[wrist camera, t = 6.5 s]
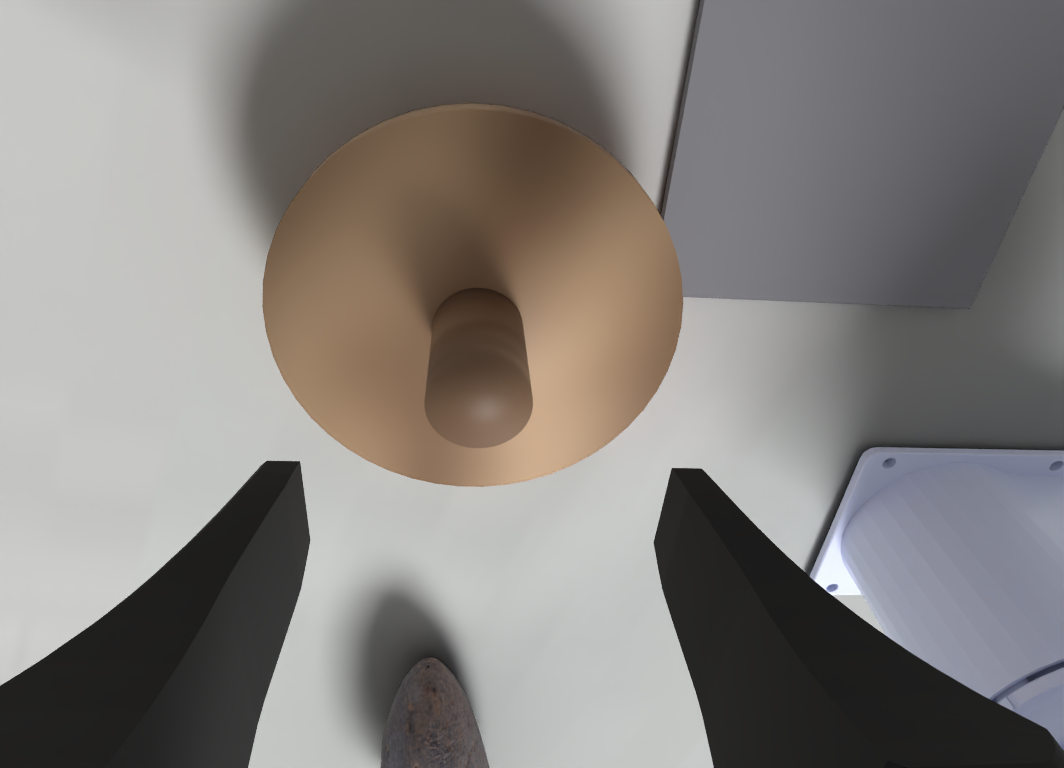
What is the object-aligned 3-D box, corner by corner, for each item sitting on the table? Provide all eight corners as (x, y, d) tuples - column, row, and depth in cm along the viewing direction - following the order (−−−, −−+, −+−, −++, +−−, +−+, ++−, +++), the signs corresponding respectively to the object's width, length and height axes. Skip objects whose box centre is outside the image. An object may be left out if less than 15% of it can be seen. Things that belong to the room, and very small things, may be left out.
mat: (1164, -138, 17) (1178, -139, 16) (962, 303, 23) (969, 308, 23) (734, -188, 16) (740, -191, 15) (647, 290, 22) (649, 295, 22)
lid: (726, 139, 17) (799, 192, 13) (625, 481, 22) (655, 586, 19) (258, 68, 15) (188, 107, 11) (279, 456, 21) (237, 565, 17)
